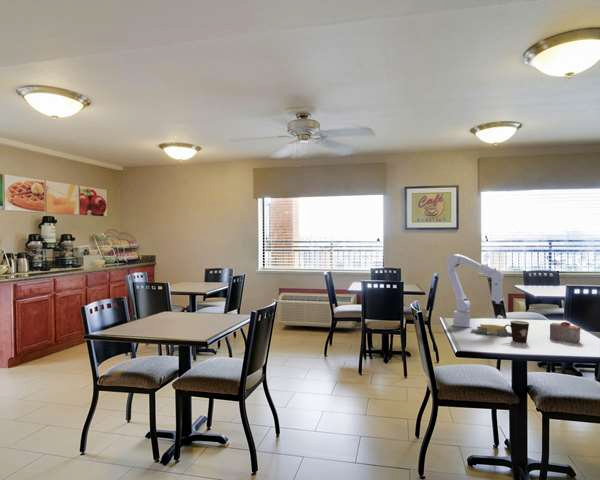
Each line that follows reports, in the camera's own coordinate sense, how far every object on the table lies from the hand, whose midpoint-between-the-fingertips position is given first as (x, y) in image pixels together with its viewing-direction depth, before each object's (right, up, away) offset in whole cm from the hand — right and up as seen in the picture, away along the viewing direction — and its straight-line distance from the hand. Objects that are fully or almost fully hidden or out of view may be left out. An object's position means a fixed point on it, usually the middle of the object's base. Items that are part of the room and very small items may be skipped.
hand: (496, 314), depth 234 cm
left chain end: (-13, -9, -6) cm, 17 cm away
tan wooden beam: (-7, -8, -9) cm, 14 cm away
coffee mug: (-2, -10, -24) cm, 26 cm away
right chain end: (-1, -9, -11) cm, 15 cm away
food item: (+25, -10, -22) cm, 35 cm away
